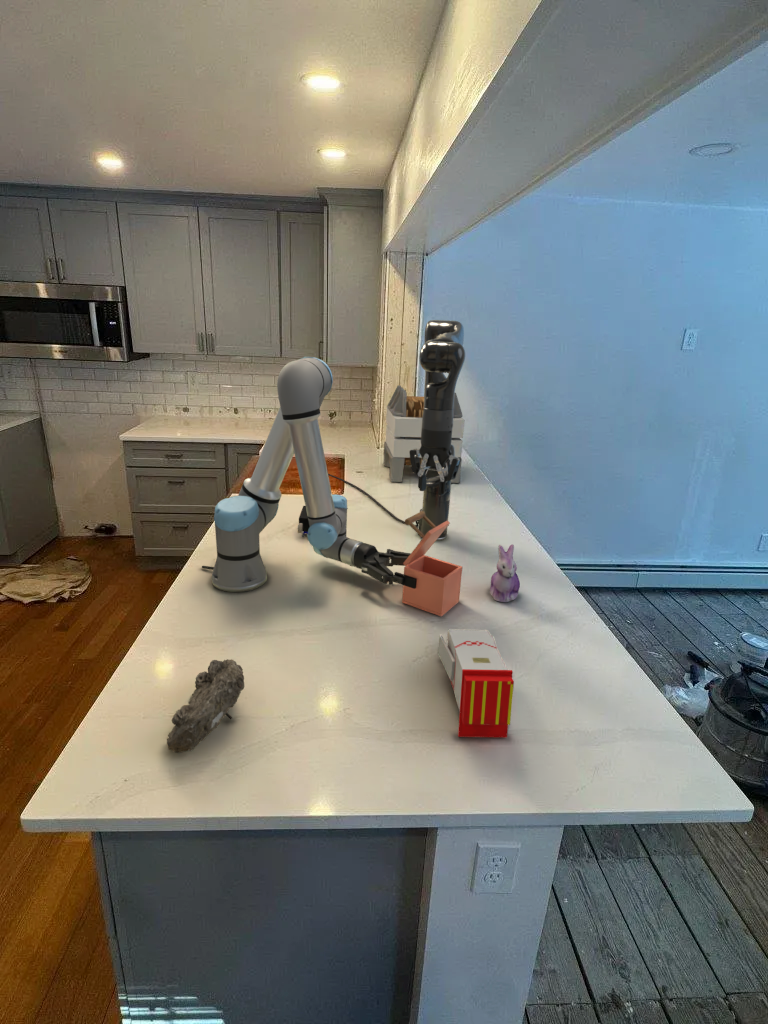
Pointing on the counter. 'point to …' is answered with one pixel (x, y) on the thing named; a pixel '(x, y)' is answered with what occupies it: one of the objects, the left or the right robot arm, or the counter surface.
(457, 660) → the toy
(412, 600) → the chest
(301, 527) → the figurine character
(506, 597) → the figurine
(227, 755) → the counter surface
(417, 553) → the lid
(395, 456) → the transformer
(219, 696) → the fossil
